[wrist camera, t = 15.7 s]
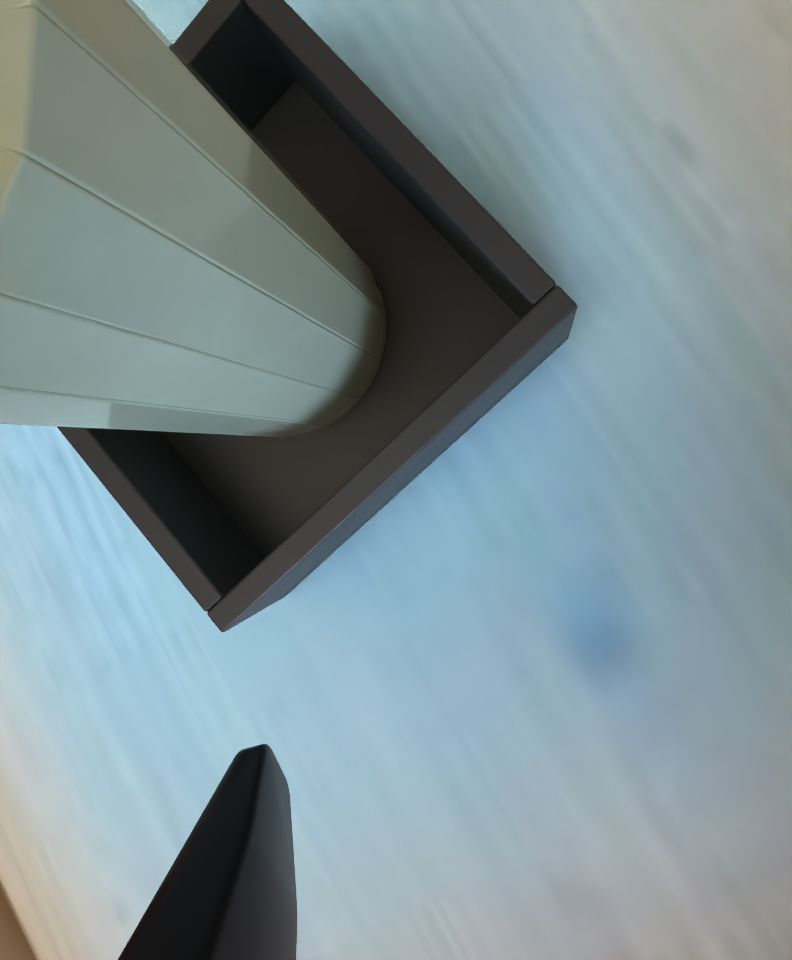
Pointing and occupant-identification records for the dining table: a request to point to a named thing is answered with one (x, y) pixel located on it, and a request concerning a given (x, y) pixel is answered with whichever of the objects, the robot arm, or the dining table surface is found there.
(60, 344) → the tumbler
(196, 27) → the tub
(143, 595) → the dining table surface
